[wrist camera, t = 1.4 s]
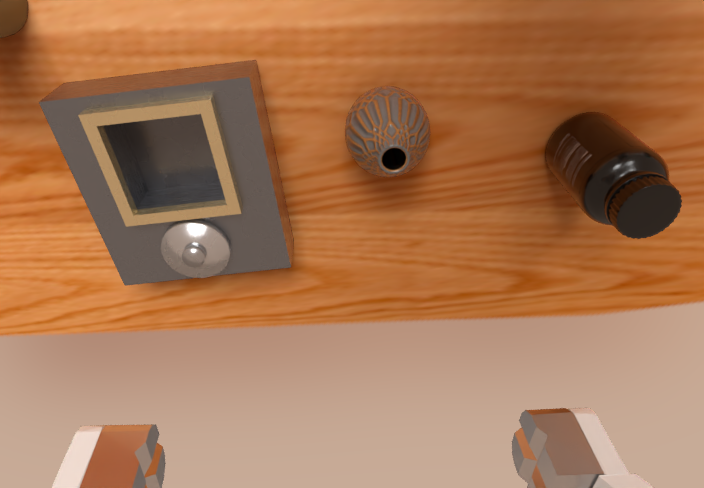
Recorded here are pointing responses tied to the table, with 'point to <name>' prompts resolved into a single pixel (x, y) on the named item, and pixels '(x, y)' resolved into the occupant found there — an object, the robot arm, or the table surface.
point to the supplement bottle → (613, 175)
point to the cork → (12, 16)
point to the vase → (387, 131)
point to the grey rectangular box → (177, 170)
